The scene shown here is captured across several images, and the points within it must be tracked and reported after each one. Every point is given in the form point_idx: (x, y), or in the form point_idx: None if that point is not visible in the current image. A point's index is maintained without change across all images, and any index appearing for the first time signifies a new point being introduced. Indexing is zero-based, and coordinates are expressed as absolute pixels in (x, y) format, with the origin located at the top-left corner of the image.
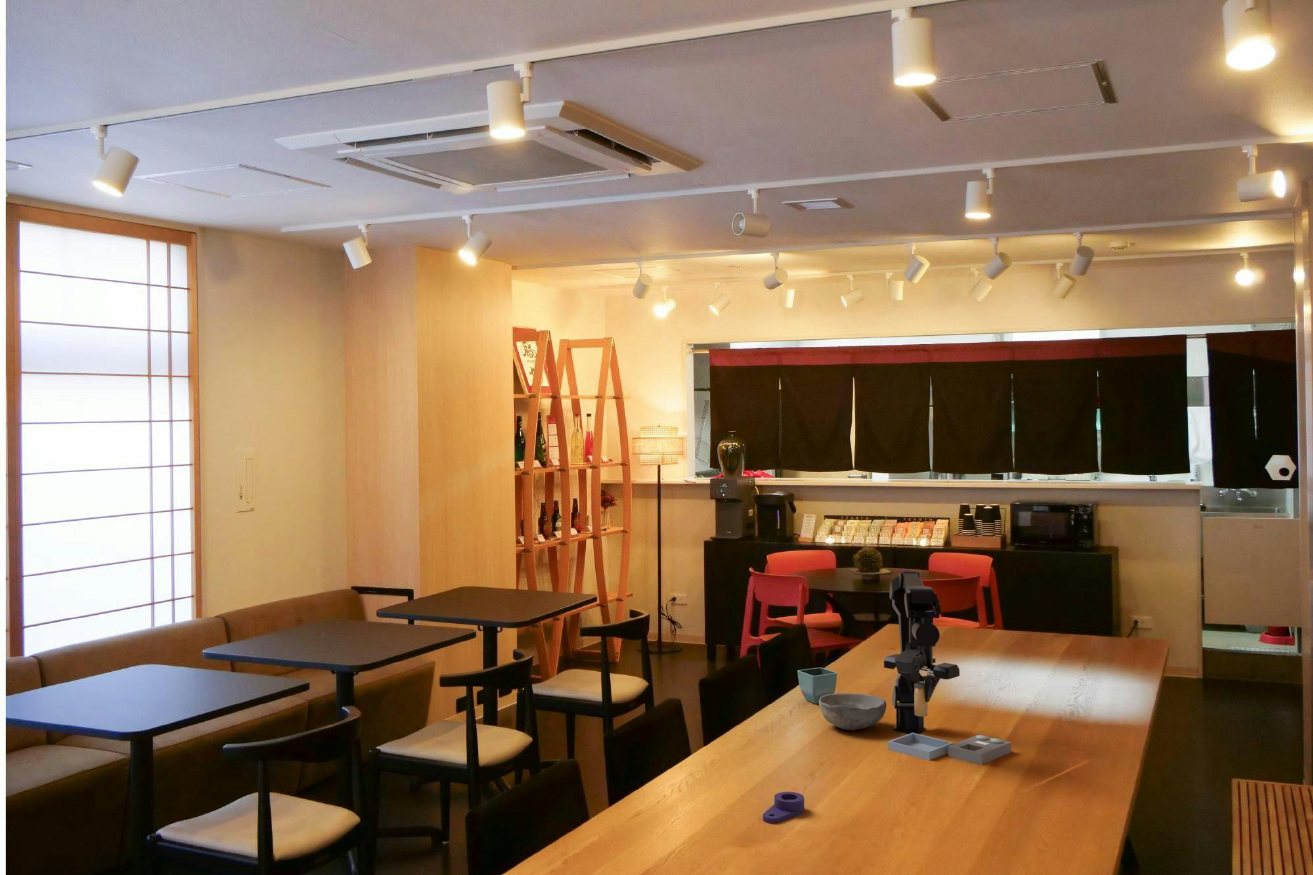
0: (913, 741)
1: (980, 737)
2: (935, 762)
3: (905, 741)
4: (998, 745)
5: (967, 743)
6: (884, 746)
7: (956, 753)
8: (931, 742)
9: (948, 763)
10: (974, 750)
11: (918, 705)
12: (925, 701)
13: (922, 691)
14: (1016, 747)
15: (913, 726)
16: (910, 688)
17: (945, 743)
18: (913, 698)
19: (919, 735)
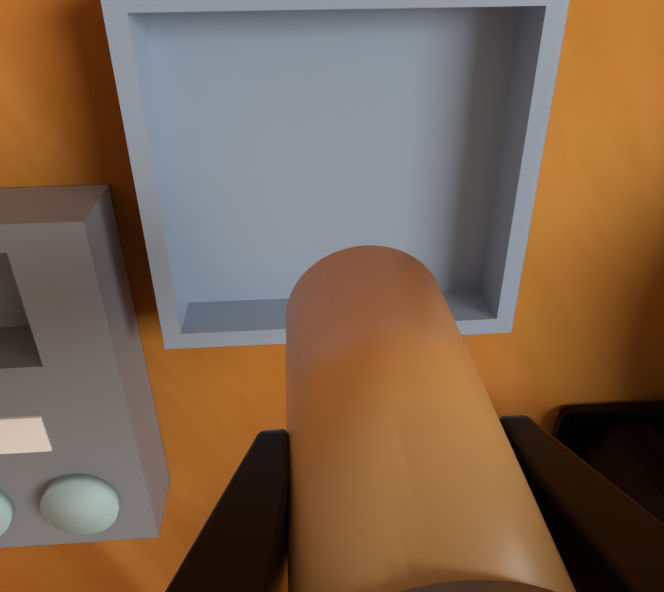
0: (479, 290)
1: (71, 494)
2: (88, 18)
3: (498, 209)
4: None
5: (53, 371)
6: (613, 76)
7: (19, 207)
8: None
9: (11, 77)
10: (3, 347)
11: (366, 325)
12: (280, 430)
13: (321, 555)
14: (43, 576)
15: (585, 458)
16: (657, 547)
17: (223, 323)
18: (519, 420)
19: None
